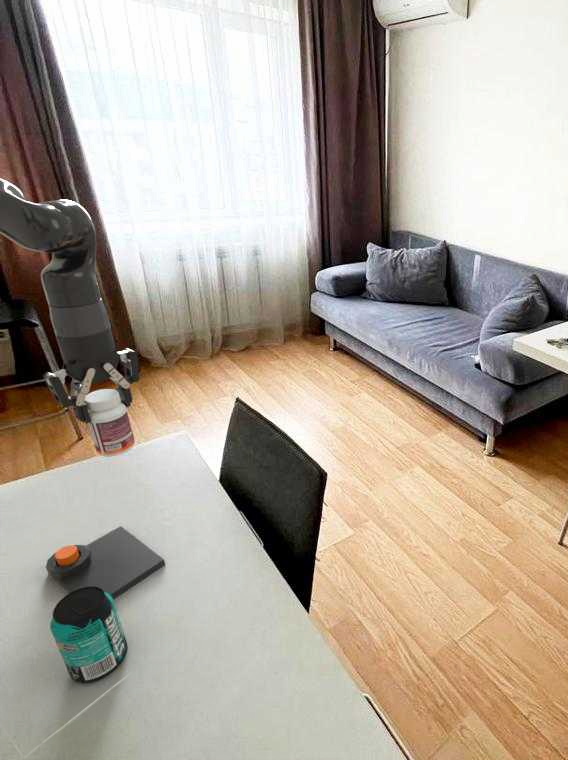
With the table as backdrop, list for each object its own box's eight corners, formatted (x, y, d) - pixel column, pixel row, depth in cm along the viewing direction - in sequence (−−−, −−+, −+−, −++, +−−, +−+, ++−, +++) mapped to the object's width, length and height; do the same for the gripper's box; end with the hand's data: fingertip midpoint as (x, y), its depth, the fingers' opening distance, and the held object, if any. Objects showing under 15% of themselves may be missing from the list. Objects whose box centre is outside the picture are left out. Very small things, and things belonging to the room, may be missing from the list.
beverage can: (108, 631, 75) (89, 574, 70) (139, 651, 73) (122, 594, 68) (59, 672, 69) (34, 613, 64) (90, 695, 67) (67, 636, 62)
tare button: (54, 561, 83) (51, 553, 82) (74, 549, 85) (71, 542, 85) (62, 569, 82) (60, 561, 81) (82, 557, 84) (80, 550, 83)
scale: (44, 574, 84) (39, 561, 82) (121, 530, 94) (117, 518, 92) (87, 617, 77) (83, 603, 76) (165, 565, 87) (162, 552, 86)
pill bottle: (143, 441, 94) (130, 389, 89) (118, 460, 89) (103, 406, 84) (114, 436, 95) (100, 385, 90) (88, 455, 90) (71, 401, 85)
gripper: (115, 310, 89) (135, 392, 96) (19, 334, 78) (50, 424, 85) (139, 320, 86) (157, 403, 93) (43, 345, 74) (72, 438, 81)
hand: (106, 413), depth 89 cm, fingers closed on pill bottle, 6 cm apart
